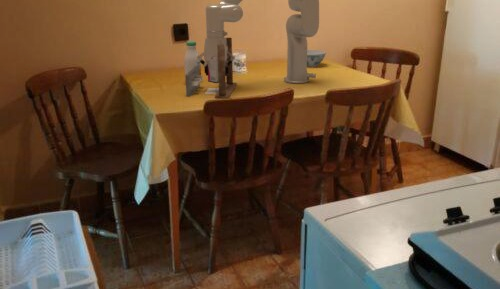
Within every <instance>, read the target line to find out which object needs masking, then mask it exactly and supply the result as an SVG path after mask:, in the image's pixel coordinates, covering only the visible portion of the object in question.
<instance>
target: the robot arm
mask: <svg viewBox="0 0 500 289" xmlns="http://www.w3.org/2000/svg"><path fill="white" fill-rule="evenodd" d="M242 1H243V0H221V1H220V2H219V3H218V4H209V5H206V7H205V23H206V24H205V25H206V37H205V39H204V46H203V47H204V48H203V52H202V53H201V54H198V55H199V56H198V57H197V58H198V60H199V61H200V64H202V65H203V68H204V74H205V76H206V77H208V62H209V61H211V58H212V57H218V54H217V45H224V46H225V77H226V76H227V74H228V73H229V71H228V66H229V65H230V64H231V63H232V64H233V61H234V60H235V59H236V56H234V55H233V53H232V54H230V53H229V52H228V47H227V40H226V38H227V37H225V36H228V31H227V32H226V31H225V23H227V22H228V23H237V22H239V21H240V20H241V19H242V18H243V16H244V12H243V9H242V7H241V6H240V5H239V4H240V3H242ZM287 2H288V7H289V9H290V10H291V11H293V12H294V11H295V12H300V14H299V13H295V14H291V15H290V16H289V17H287V20H286V23H285V31H286V37H287V51H286V54H287V55H286V56H287V57H286V58H287V59H286V63H287V64H286V76H284V77H283V81H284V82H285V83H289V84H306V83H308V82H310V78H311V79H312V78H314V79H316V76H317V75H316V73H313V72H311V73H310V72H308V70H307V68H308V67H307V50H308V39H307V38H312V37H315V35H317V33H318V30H319V27H320V1H319V0H287ZM228 56H229V57H230V58H231V60H230V61H229V62H228V61H227V59H228ZM203 58H204V59H203Z"/></svg>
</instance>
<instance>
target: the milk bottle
mask: <svg viewBox="0 0 500 289" xmlns="http://www.w3.org/2000/svg"><path fill="white" fill-rule="evenodd" d="M199 55H200V54H199V53H198V50H197V42H196V41H195V40H189V41H186V52H185V55H184V60H183V61H184V64H183V66H184V76H185V75H186V74H187V73H188V72H190V71H191V70H192V69H193V68H194V67H195V66H199V76H202V67H201V66H202V65H201V62H200V61H199V60H198V58H197V57H198V56H199ZM184 79H185V78H184ZM185 82H186V79H185Z"/></svg>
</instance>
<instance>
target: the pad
mask: <svg viewBox="0 0 500 289" xmlns="http://www.w3.org/2000/svg"><path fill="white" fill-rule="evenodd" d="M218 91H219V87H208V88H207V90H206V91H205V92H204V95H206V94H207V95H216V93H217V92H218Z"/></svg>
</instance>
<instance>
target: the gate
mask: <svg viewBox="0 0 500 289" xmlns="http://www.w3.org/2000/svg"><path fill="white" fill-rule="evenodd" d="M225 38H226V40H227V47H228V52H229V53H230V54H232V55H233V43H232V42H233V39H232V37H225ZM217 54H218V81H219V83H218V88H219V91H218V92H217V93H216V94H214V99H230V97H231V95H232V94H233V91H234V90H235V88H236V86H238V85H237V82H234V80H233V79H234V78H233V77H234V75H233V72H234V71H233V62H232V63H231V64H230V65H229V66H228V71H229V73H228V74H227V76H225V46H224V45H217ZM230 60H231V58H230V57H229V56H228V59H227V61H228V62H229V61H230Z"/></svg>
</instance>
